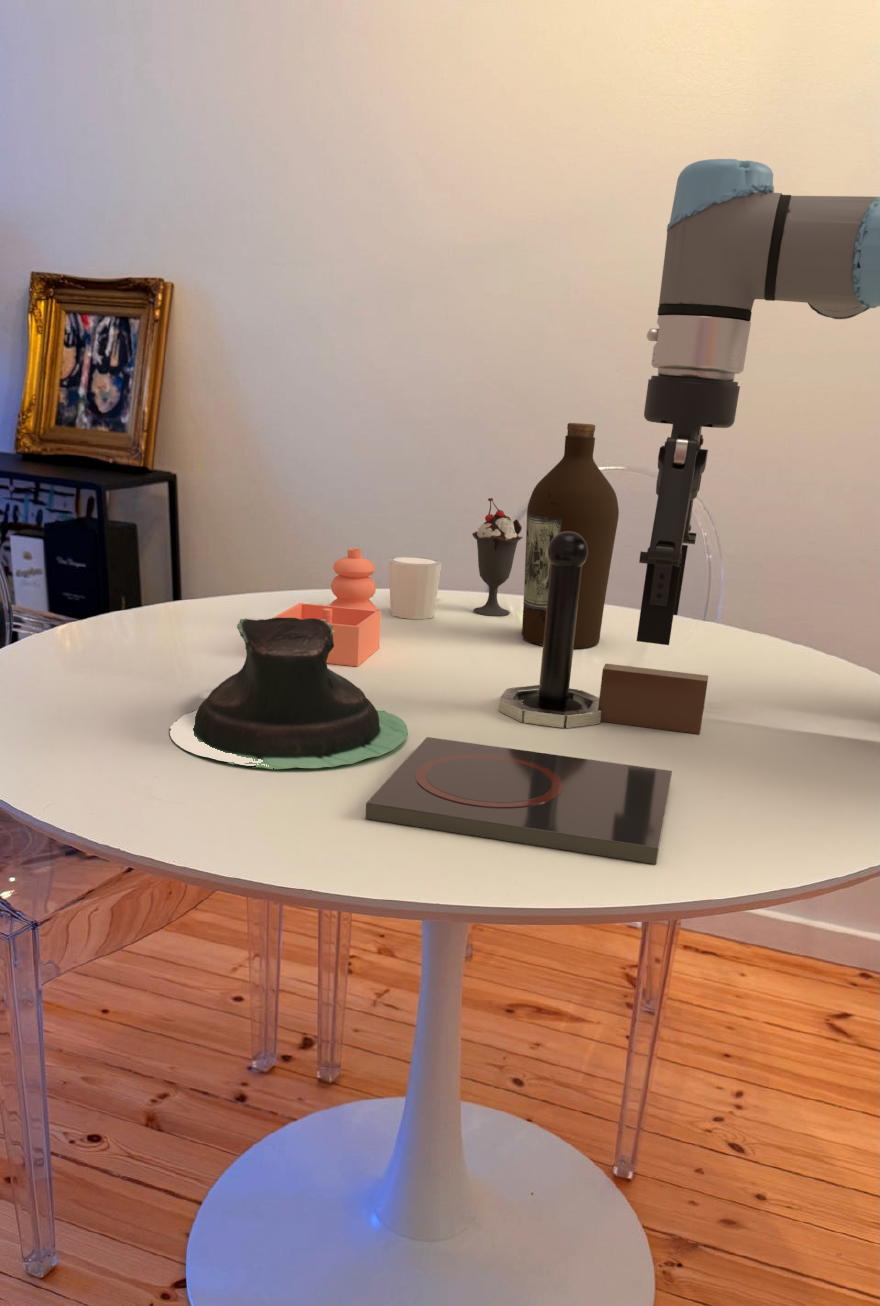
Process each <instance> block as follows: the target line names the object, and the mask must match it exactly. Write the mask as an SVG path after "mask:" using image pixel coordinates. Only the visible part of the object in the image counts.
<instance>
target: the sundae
mask: <svg viewBox="0 0 880 1306" xmlns="http://www.w3.org/2000/svg"><path fill="white" fill-rule="evenodd" d="M487 501H488V502H489V505H490V506H489V510H488V513H487V514H486V515H485V517H484V520H485V522H483V523H481V525H480V526H479V527H478V529H477V531H474V532H472V534H471V535H472V537H473V539H475V540H476V545H477V563H478V564H477V565H478V572H479V576H480V578H481V580H482V581H483V582H484V583H485V584H486V585H487V586H488V596H487V600H486V602H485V603H484V604H483V606H479V607H475V608H473V610H472V611H473V613H475V614H478V615H481V616H487V617H489V616H490V617H504V616H509V615H510V614H511V611H510V610H508V609H506V608H504V607H501V605H500V604H499V601H498V589H499V587H500V586H502V585H503V584H505V582H506V581H507V580H508V579H509V578H510V576H511V572H512V568H513V563H514V558H515V554H516V550H517V545H518V543H519V541H521V540H522V539H523V538H524V537H523V536H520V535H519V534H520V533H521V532H522V529H523V527H522V525H521V523H520V522H519V520H518V519H517V518H516V519H514V521H512V518H511V517H510V516H507V515H506V514H505V512H504V510H501V509H499V508H498V507H497V505H496V504H495V502H494V498H493V497H489V498H487ZM492 504H493V506H494V508H496V510H497V511H495V513H494V514H491V510H492Z"/></svg>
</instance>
